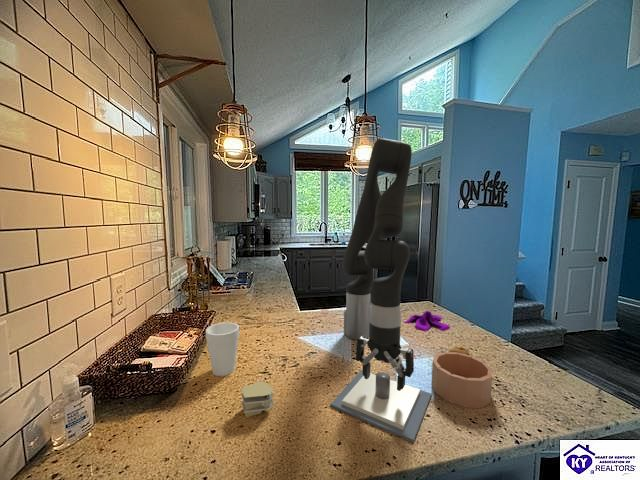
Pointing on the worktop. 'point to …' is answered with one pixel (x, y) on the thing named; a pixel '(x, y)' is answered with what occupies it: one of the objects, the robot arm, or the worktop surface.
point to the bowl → (462, 379)
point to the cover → (383, 399)
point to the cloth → (427, 321)
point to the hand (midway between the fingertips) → (383, 383)
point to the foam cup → (222, 347)
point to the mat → (407, 433)
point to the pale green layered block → (257, 398)
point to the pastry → (460, 350)
